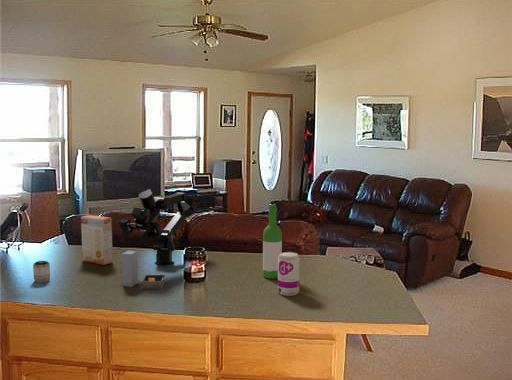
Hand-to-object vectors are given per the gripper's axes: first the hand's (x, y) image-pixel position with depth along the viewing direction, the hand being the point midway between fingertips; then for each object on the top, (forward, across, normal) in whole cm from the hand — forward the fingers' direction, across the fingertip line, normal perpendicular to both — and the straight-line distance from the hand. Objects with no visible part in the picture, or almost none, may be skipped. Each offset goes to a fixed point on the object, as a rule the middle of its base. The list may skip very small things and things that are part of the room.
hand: (130, 241), depth 233 cm
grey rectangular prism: (+14, +5, +10) cm, 18 cm away
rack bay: (+12, +14, +11) cm, 22 cm away
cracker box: (-6, -29, +21) cm, 36 cm away
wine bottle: (-15, +52, +26) cm, 60 cm away
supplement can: (+1, +66, +18) cm, 68 cm away
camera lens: (+23, -30, +5) cm, 39 cm away
